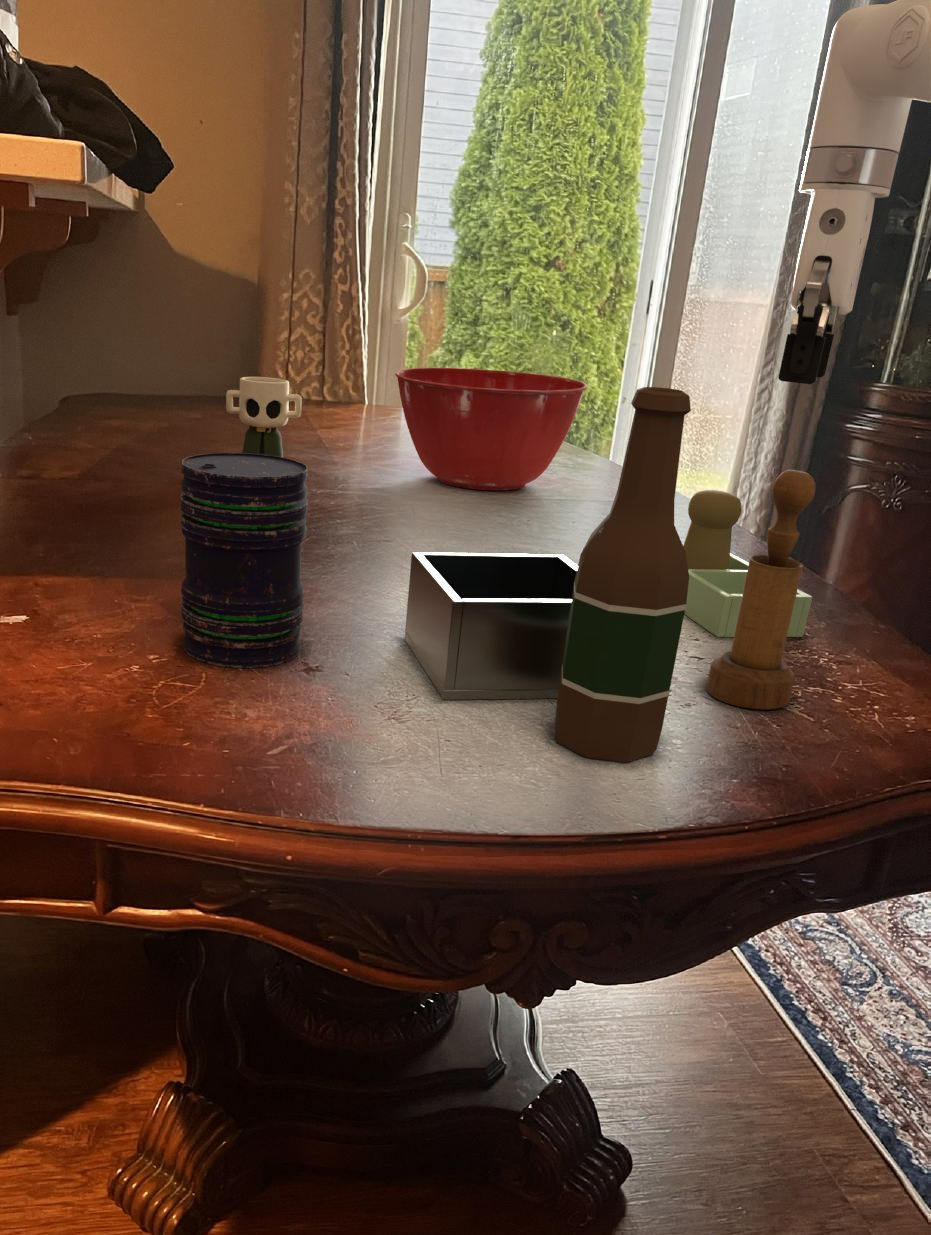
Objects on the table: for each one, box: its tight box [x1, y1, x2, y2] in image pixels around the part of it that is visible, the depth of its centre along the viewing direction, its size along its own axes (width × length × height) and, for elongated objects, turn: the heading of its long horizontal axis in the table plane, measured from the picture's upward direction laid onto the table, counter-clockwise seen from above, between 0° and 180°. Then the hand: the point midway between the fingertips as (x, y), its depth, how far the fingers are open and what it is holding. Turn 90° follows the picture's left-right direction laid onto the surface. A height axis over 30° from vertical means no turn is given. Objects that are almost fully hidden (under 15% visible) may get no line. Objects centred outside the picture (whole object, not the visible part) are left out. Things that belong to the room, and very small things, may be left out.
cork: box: [682, 489, 742, 570], centre depth 109 cm, size 6×6×11 cm
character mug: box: [225, 376, 303, 458], centre depth 154 cm, size 11×7×13 cm, turn 93°
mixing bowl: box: [394, 367, 588, 491], centre depth 158 cm, size 28×28×15 cm
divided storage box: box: [684, 552, 813, 638], centre depth 106 cm, size 9×17×4 cm, turn 12°
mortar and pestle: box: [705, 469, 816, 711], centre depth 81 cm, size 7×6×18 cm
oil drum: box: [179, 452, 309, 669], centre depth 84 cm, size 10×10×15 cm
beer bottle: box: [554, 386, 692, 764], centre depth 70 cm, size 8×8×24 cm
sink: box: [404, 551, 578, 701], centre depth 85 cm, size 14×14×8 cm
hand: (801, 378), depth 99 cm, fingers open, 9 cm apart
